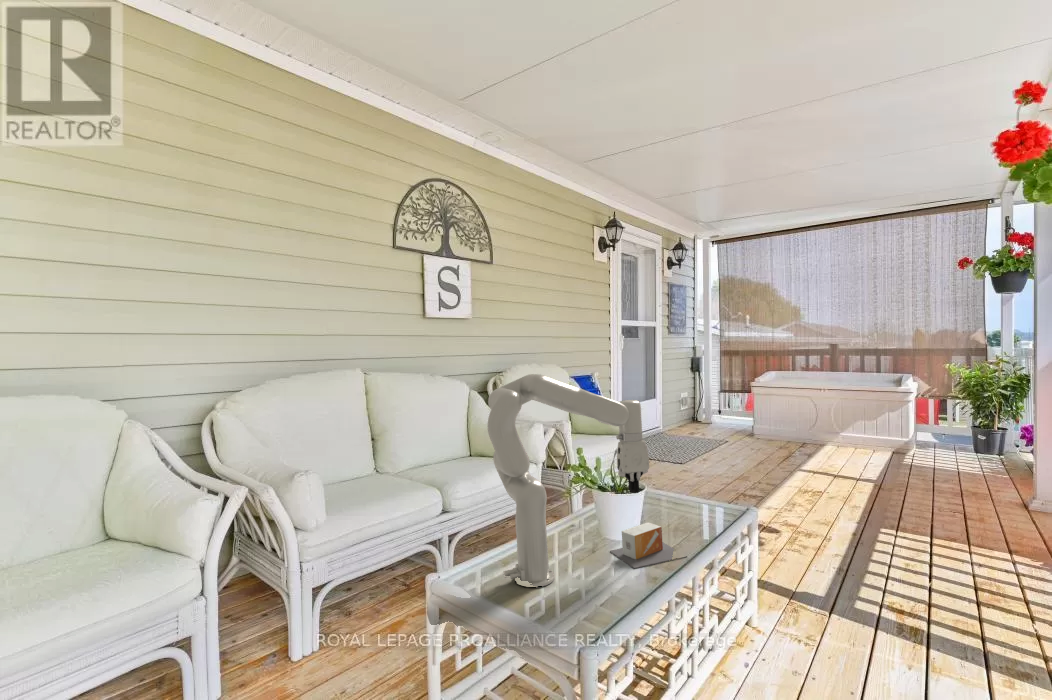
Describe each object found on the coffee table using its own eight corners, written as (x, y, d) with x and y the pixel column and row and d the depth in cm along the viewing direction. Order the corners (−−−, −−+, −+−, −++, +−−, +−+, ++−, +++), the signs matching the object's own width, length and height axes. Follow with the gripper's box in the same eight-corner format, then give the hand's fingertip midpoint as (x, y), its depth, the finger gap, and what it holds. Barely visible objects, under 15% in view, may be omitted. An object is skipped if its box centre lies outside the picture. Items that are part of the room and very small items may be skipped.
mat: (634, 569, 161) (634, 567, 161) (609, 551, 176) (609, 550, 176) (687, 557, 168) (687, 555, 168) (659, 541, 183) (659, 540, 183)
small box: (634, 535, 167) (661, 526, 174) (620, 530, 173) (647, 521, 180) (636, 560, 167) (663, 549, 174) (622, 554, 173) (649, 544, 180)
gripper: (616, 441, 164) (620, 498, 164) (656, 436, 169) (659, 491, 169) (605, 438, 172) (608, 492, 171) (644, 433, 176) (647, 486, 176)
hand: (634, 492), depth 170 cm, fingers closed
